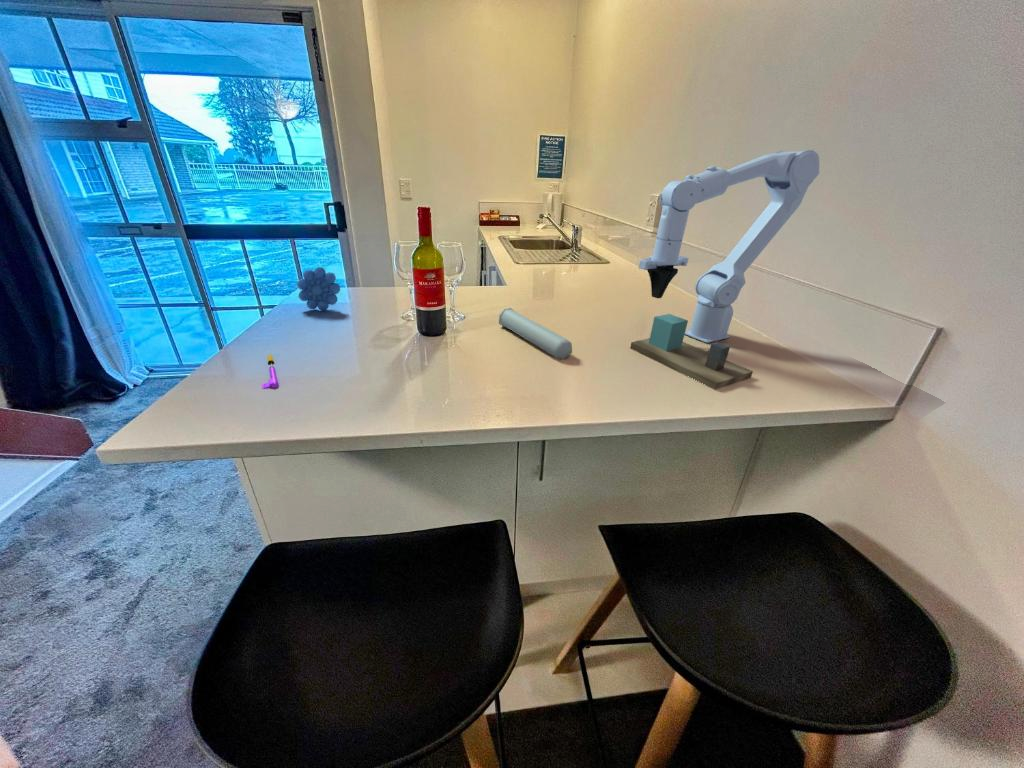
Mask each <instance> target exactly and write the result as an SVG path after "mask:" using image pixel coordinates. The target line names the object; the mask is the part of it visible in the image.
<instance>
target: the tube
mask: <svg viewBox="0 0 1024 768" xmlns="http://www.w3.org/2000/svg"><path fill="white" fill-rule="evenodd" d="M498 324H499V325H500V326H502V327H504V328H507V329H509V330H510V331H511V330H512V331H511V332H513V333H515V334H516V335H518V336H520V337H521V338H523V339H525V340H527V342H530V343H531V344H533V345H534V346H536V347H538V348H540V349H541V350H543V351H544V352H546V353H548V354H550V355H551V356H552V357H555V358H556V359H559V360H564V359H567V358H568V357H569V356H570V355H572V353H573V344H572V342H571V341H570V340H569V339H567V338H566V337H564V336H562V335H560V334H558V333H556V332H554V331H553V330H550V329H549V328H548V327H547V328H546V327H545V326H543V325H541V324H539V323H537V322H536V321H534V320H532V319H530V318H529V317H526V316H525V315H523V314H521V313H519V312H518V311H516V310H514V309H512V308H511V307H507V308H502V310H501V312H500V314H499V315H498Z"/></svg>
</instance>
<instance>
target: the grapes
mask: <svg viewBox="0 0 1024 768" xmlns="http://www.w3.org/2000/svg"><path fill="white" fill-rule="evenodd" d="M302 274H303V275H302V277H303V278H300V279H298V281H297V283H296V284H297V285H296V286H297V288H298V289H299V290H300V292H299V293H298V298H299V300H300V301H302V302H306V307H307V308H308V309H310V310H315V309H319V310H320V311H324V312H325V311H327V310H328V309H329V306H333V305H336V303H337V302H338V297H337V294H339V293H340V292H341V286H340V284H339V283H337V282H335V281H336V279H337V278H336V275H335V273H334V272H330V271H328V272H327V271H326V269H325V268H324V267H322V266H317V267H315V269H314V271H313V269H306V270H305V271H304V272H303V273H302Z"/></svg>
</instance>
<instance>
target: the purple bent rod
mask: <svg viewBox="0 0 1024 768" xmlns="http://www.w3.org/2000/svg"><path fill="white" fill-rule="evenodd" d="M266 362H267V363H269V362H270V366H269V369H268V370H269V371H268V372H269V377H270V379H268V382H265V383H263V384H261V390H265V389H269V388H271V389H272V388H273V389H278V388H279V386H280V385H279V379H278V377H277V373H276V368H275V366H273V363H275V359H274V356H273V355H272V353H271V354H267V361H266ZM272 362H273V363H272Z"/></svg>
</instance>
